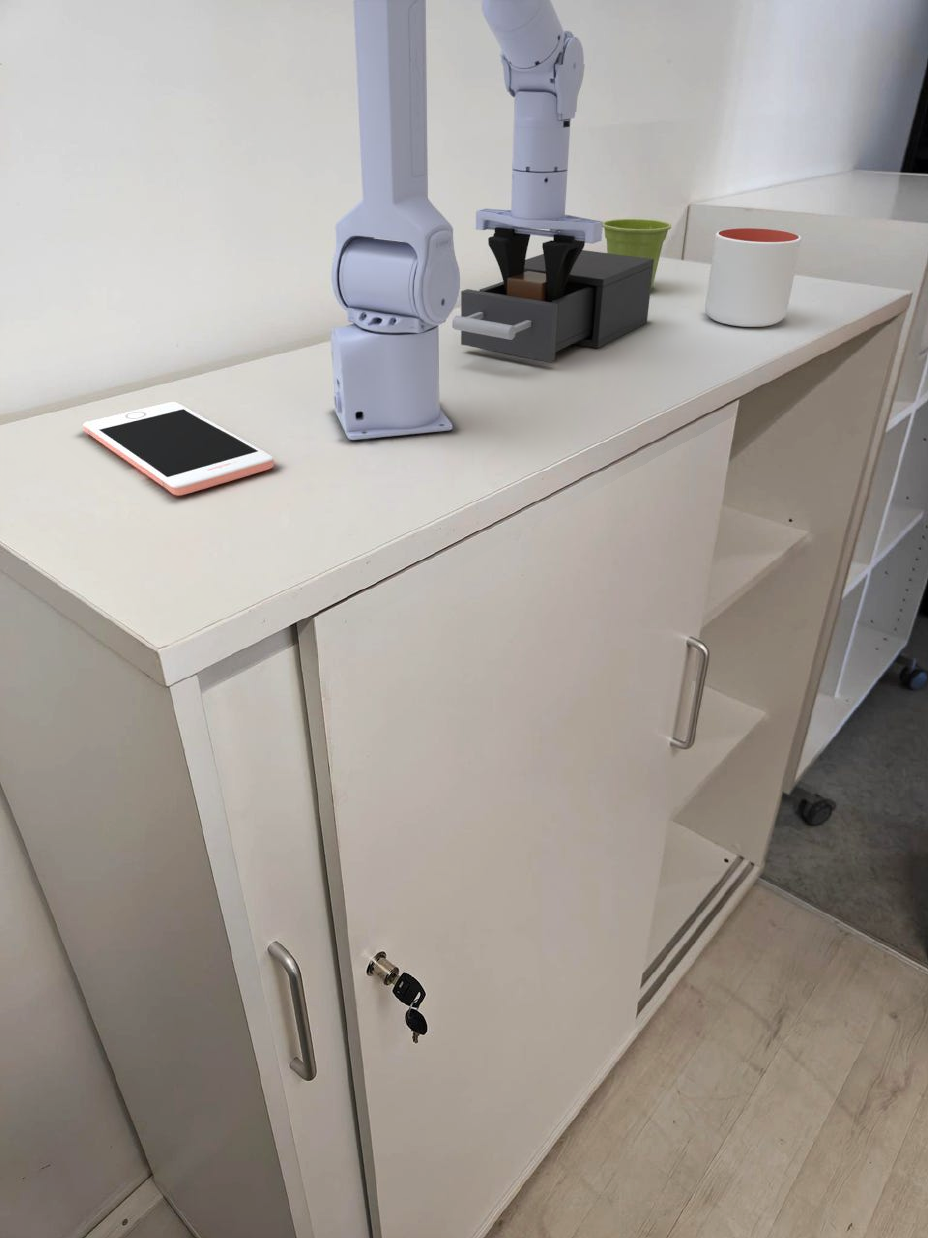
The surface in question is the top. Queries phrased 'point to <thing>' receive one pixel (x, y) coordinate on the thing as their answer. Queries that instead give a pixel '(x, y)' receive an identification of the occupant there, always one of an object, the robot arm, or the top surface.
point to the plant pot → (636, 238)
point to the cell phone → (178, 447)
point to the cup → (751, 276)
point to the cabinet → (610, 291)
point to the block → (527, 286)
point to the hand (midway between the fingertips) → (533, 304)
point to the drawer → (525, 320)
